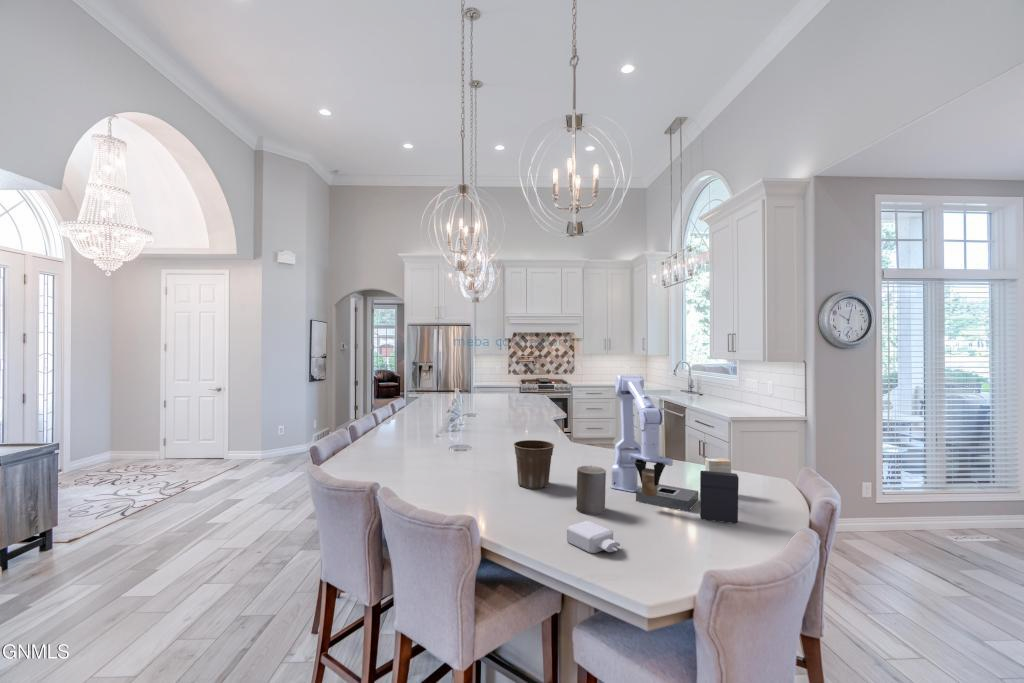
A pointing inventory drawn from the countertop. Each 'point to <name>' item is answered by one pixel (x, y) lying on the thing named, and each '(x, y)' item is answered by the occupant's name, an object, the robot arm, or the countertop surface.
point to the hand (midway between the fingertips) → (649, 483)
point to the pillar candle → (591, 490)
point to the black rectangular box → (719, 496)
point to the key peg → (649, 482)
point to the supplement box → (718, 465)
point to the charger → (591, 537)
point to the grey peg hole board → (670, 497)
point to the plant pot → (533, 463)
